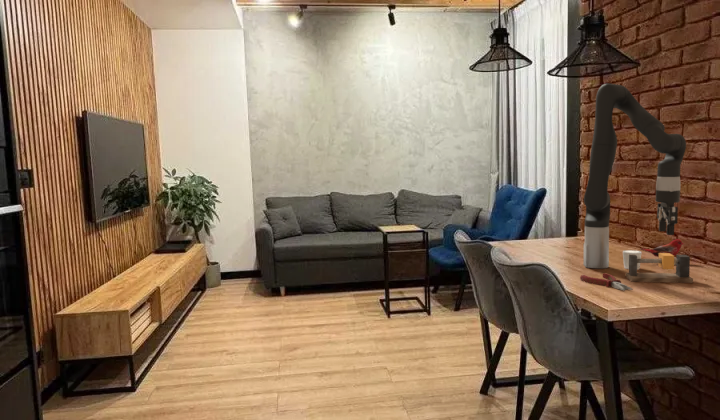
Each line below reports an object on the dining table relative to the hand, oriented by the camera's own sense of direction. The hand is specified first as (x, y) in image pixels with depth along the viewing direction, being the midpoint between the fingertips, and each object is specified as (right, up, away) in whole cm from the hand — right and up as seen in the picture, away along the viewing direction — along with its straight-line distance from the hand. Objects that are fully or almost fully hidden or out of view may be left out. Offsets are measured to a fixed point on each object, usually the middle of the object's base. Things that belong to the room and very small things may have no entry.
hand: (666, 233), depth 179 cm
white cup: (0, -16, +22) cm, 27 cm away
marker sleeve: (+1, -13, +1) cm, 13 cm away
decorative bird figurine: (+17, -14, +30) cm, 37 cm away
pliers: (-23, -19, -1) cm, 30 cm away
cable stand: (-1, -17, +2) cm, 18 cm away
